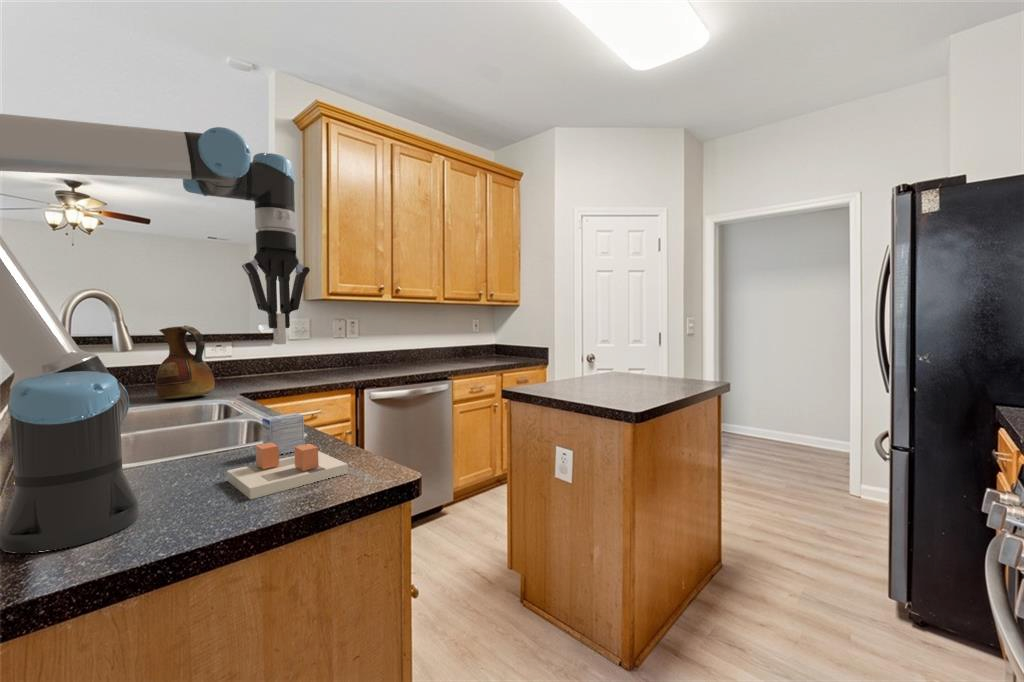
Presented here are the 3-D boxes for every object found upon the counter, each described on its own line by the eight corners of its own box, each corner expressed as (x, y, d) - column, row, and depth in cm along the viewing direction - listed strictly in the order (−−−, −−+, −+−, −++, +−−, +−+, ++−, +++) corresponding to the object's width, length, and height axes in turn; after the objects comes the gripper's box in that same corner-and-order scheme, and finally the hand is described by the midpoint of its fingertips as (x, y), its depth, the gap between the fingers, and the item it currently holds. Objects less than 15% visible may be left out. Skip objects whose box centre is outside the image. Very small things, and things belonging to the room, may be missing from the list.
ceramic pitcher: (178, 394, 197) (175, 325, 196) (225, 393, 198) (222, 324, 196) (143, 402, 177) (139, 326, 176) (195, 402, 178) (192, 325, 177)
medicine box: (296, 447, 113) (295, 412, 113) (305, 450, 110) (304, 414, 110) (262, 454, 107) (261, 418, 107) (271, 458, 104) (269, 420, 104)
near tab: (303, 471, 88) (302, 450, 88) (294, 466, 91) (294, 446, 91) (318, 467, 90) (318, 447, 90) (310, 463, 93) (309, 443, 93)
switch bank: (250, 499, 80) (250, 487, 80) (227, 480, 90) (226, 470, 90) (347, 473, 93) (347, 463, 93) (318, 459, 103) (318, 450, 103)
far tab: (262, 469, 89) (262, 449, 89) (256, 464, 92) (255, 445, 92) (279, 465, 91) (278, 445, 91) (271, 461, 94) (271, 442, 94)
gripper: (247, 225, 89) (251, 346, 90) (314, 233, 98) (318, 343, 99) (235, 230, 94) (240, 344, 95) (300, 238, 103) (303, 342, 104)
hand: (279, 343), depth 97 cm, fingers closed
